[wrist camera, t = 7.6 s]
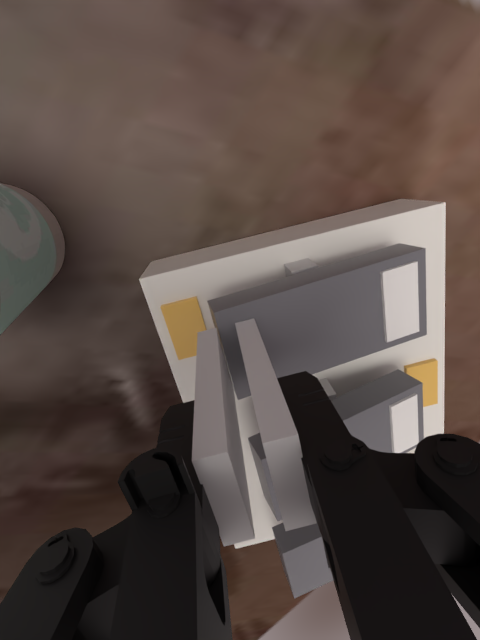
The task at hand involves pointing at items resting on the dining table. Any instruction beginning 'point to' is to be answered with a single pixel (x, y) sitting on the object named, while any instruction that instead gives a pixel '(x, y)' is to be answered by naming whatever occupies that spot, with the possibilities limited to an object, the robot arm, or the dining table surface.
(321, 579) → the switch
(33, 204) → the coffee cup
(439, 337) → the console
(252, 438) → the switch
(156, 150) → the dining table surface
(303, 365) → the switch
